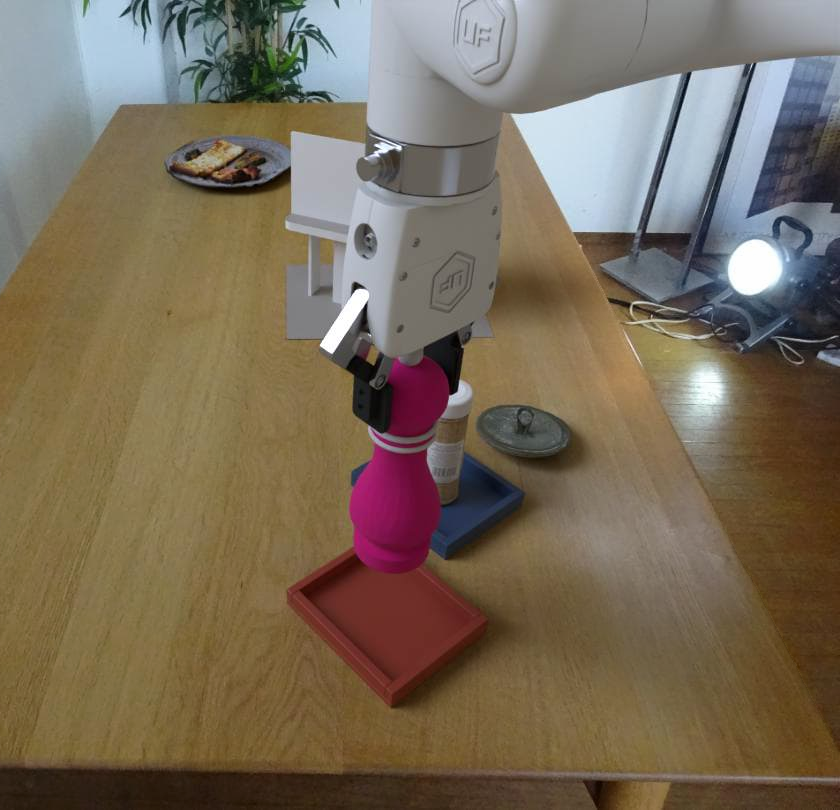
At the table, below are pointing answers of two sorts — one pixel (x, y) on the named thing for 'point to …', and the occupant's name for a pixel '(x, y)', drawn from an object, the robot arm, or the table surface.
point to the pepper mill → (401, 472)
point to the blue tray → (470, 506)
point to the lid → (523, 431)
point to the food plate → (229, 161)
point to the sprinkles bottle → (450, 443)
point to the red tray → (386, 621)
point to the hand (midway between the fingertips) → (405, 401)
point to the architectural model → (324, 232)
